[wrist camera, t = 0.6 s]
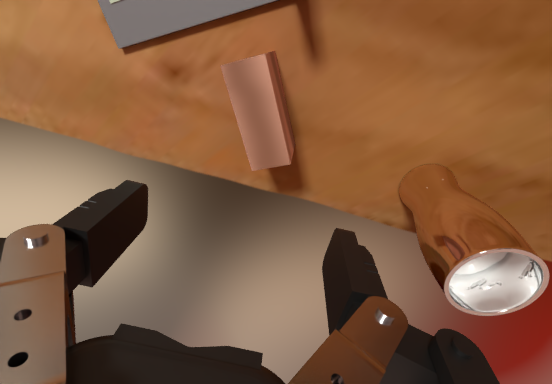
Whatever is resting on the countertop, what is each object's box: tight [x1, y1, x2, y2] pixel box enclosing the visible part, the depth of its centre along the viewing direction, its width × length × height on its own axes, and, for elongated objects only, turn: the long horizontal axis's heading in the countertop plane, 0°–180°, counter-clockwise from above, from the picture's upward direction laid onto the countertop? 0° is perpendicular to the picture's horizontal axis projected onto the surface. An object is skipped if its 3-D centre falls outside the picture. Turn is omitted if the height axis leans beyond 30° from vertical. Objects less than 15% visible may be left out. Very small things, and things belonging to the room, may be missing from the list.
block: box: [221, 51, 295, 171], centre depth 29 cm, size 4×10×6 cm, turn 14°
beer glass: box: [399, 164, 549, 316], centre depth 27 cm, size 7×7×15 cm
